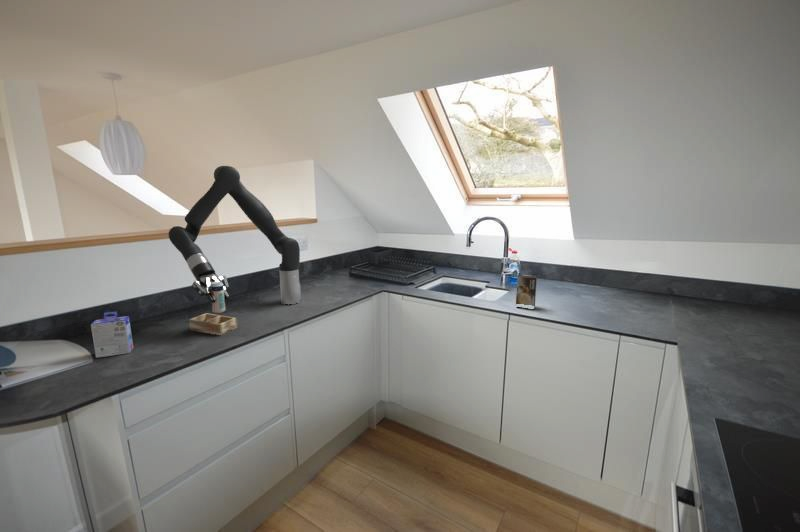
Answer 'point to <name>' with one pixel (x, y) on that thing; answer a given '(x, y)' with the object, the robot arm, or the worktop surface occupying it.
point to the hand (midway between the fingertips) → (220, 300)
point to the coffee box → (526, 289)
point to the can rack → (213, 324)
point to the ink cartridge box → (112, 335)
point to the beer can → (218, 297)
